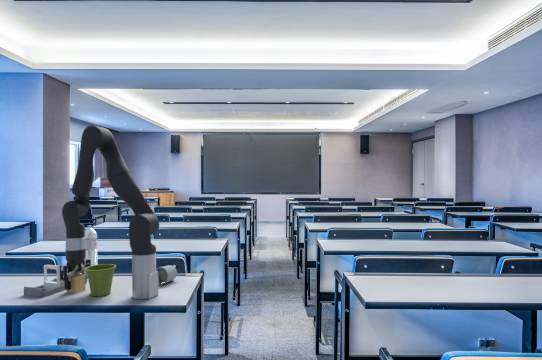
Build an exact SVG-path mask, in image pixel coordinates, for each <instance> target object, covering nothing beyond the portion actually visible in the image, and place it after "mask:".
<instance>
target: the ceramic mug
mask: <svg viewBox="0 0 542 360" xmlns="http://www.w3.org/2000/svg"><path fill="white" fill-rule="evenodd" d="M156 271H158V285H164V284H167V283H169V282H172V281H174V280H175V279H176V278H177V275H178V271H177V268H176V267H175V266H173V265H170V264H169V265H165V266H159V267H156ZM162 282H165V283H162ZM161 283H162V284H161Z"/></svg>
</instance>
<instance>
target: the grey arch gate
mask: <svg viewBox="0 0 542 360" xmlns="http://www.w3.org/2000/svg"><path fill="white" fill-rule="evenodd" d="M60 266H61V265H54V264H44V265H43V285H44V289H45V290H50V289H53V288H56V287H59V286H60ZM48 270H56V278H57V282H51V281H50V280H49V281H48Z"/></svg>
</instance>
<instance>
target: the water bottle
mask: <svg viewBox="0 0 542 360" xmlns="http://www.w3.org/2000/svg"><path fill="white" fill-rule="evenodd" d="M86 227H87V228H85V241H86V258H85V259H89V260H91V266H93V265H99V264H98V263H99V262H98V261H99V260H98V258H99V257H98V233H97V231H96V230H95V229H93V228H92V225H91V224H89V225H87V226H86ZM85 259H84V260H85ZM87 278H88V275H87Z"/></svg>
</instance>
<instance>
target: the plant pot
mask: <svg viewBox="0 0 542 360" xmlns="http://www.w3.org/2000/svg"><path fill="white" fill-rule="evenodd" d="M116 268H117V265H116V264H113V263H101V264H98V265H93V266H89V267H86V268H85V270H86V272H87V275H88V277H87V280H88V285H89V291H90V294H91V295H90V296H92V297H96V296H97V297H104V296H108V295H109V294H111V291H112V284H113V277H114V273H115V269H116Z"/></svg>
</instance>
